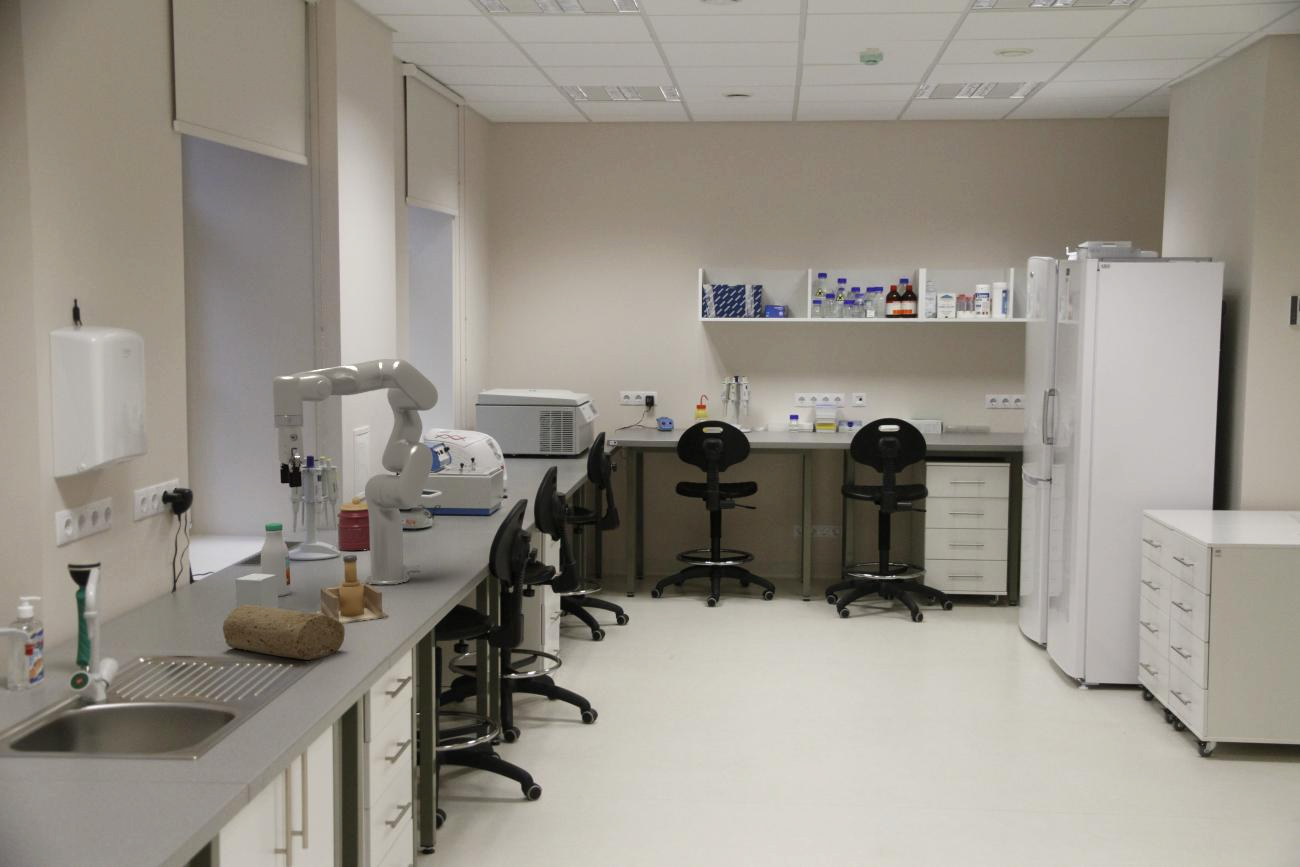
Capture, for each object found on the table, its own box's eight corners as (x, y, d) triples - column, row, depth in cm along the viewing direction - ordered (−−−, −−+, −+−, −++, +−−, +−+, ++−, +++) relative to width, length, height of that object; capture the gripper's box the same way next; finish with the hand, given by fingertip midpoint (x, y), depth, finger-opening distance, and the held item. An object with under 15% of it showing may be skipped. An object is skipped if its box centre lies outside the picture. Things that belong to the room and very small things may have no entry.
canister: (372, 551, 397) (370, 499, 395) (333, 552, 397) (331, 499, 396) (381, 544, 410) (379, 494, 408) (344, 545, 410) (342, 494, 409)
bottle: (360, 609, 310) (358, 553, 308) (366, 614, 305) (364, 557, 303) (337, 612, 307) (335, 555, 306) (343, 617, 302) (341, 559, 300)
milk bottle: (282, 597, 328) (279, 526, 326) (256, 596, 330) (253, 525, 328) (295, 591, 336) (293, 522, 334) (270, 590, 337) (268, 521, 336)
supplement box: (280, 623, 299) (278, 574, 298) (261, 630, 292) (259, 580, 291) (255, 621, 301) (253, 572, 300) (236, 628, 294) (234, 578, 293)
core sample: (264, 638, 285) (262, 597, 285) (346, 651, 273) (345, 608, 272) (217, 652, 273) (215, 609, 272) (302, 666, 260) (300, 622, 260)
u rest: (372, 607, 316) (371, 582, 315) (388, 617, 304) (387, 592, 303) (315, 614, 308) (315, 589, 308) (330, 625, 296) (329, 599, 296)
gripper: (311, 423, 312) (313, 487, 313) (295, 419, 327) (297, 480, 328) (281, 424, 308) (284, 489, 310) (267, 420, 323) (269, 482, 324)
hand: (291, 485), depth 319 cm, fingers open, 9 cm apart
